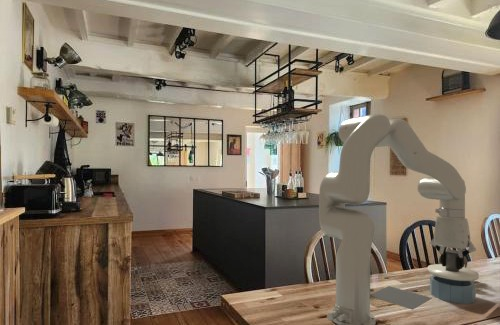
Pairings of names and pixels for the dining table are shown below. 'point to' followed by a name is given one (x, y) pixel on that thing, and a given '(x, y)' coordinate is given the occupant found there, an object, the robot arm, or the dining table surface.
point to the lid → (452, 269)
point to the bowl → (453, 290)
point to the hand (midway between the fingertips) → (452, 266)
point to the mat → (400, 297)
